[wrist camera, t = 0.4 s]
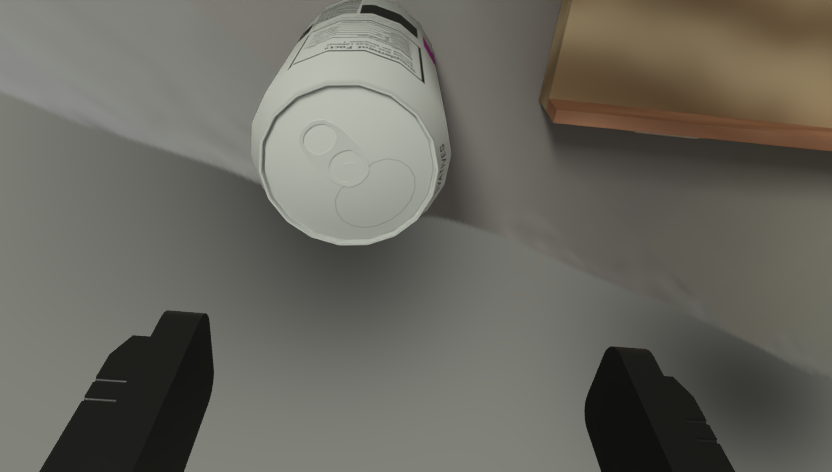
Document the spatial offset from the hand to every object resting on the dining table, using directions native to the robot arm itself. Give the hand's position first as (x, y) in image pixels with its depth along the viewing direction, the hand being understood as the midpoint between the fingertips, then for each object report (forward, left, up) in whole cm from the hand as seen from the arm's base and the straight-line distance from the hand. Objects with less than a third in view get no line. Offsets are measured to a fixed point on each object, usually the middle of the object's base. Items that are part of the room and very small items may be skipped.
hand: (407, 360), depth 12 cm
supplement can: (+2, -2, -27) cm, 27 cm away
